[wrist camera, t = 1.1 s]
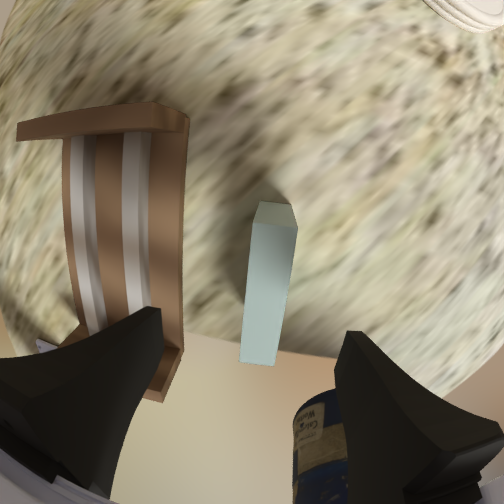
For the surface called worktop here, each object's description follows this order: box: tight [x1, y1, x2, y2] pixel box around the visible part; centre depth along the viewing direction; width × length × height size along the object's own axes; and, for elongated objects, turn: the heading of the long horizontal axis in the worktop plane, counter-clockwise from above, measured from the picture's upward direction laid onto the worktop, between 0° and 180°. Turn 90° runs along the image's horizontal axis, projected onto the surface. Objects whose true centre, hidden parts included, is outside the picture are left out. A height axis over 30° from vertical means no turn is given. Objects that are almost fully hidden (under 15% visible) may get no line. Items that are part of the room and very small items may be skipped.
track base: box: [16, 102, 190, 403], centre depth 17 cm, size 18×10×6 cm, turn 174°
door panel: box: [239, 201, 298, 366], centre depth 17 cm, size 8×2×6 cm, turn 174°
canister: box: [292, 388, 348, 504], centre depth 16 cm, size 10×10×18 cm
